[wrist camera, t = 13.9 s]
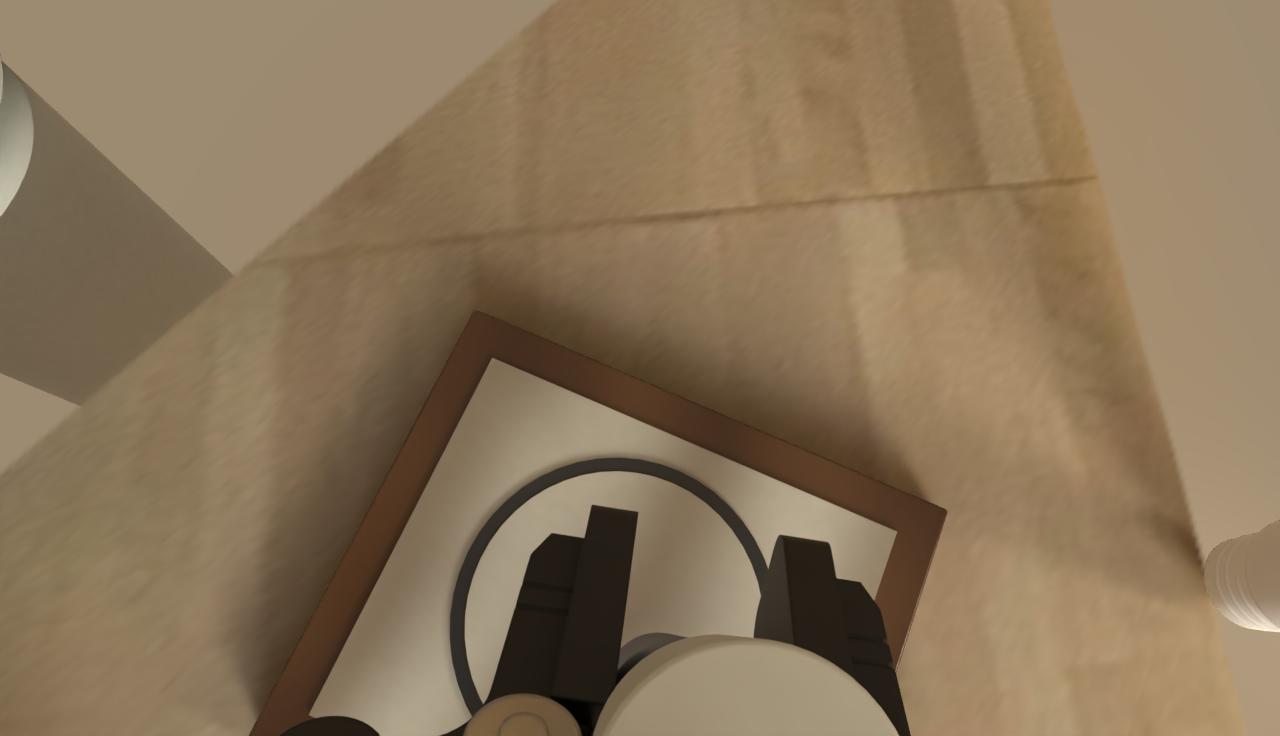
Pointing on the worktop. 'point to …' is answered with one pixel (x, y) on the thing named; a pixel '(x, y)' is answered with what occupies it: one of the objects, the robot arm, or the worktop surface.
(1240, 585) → the lightbulb
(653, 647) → the cylinder
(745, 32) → the worktop surface
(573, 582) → the robot arm
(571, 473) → the picture frame
